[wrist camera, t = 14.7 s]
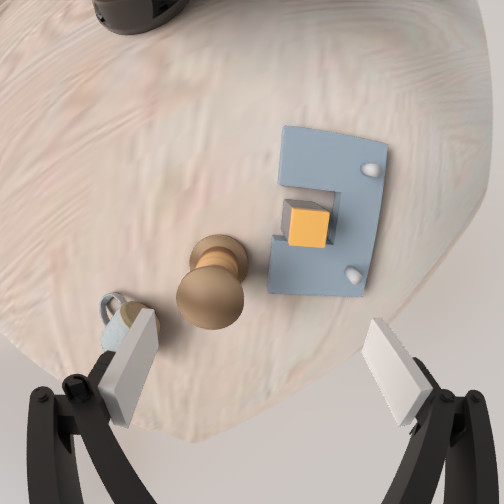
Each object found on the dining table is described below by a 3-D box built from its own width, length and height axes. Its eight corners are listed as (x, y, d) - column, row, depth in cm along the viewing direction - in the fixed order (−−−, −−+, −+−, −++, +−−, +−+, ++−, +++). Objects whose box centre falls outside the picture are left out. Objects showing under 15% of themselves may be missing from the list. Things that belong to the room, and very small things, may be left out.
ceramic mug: (169, 317, 42) (155, 346, 35) (146, 348, 44) (132, 376, 37) (115, 277, 40) (92, 299, 33) (96, 311, 42) (75, 335, 35)
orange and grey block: (283, 199, 37) (293, 209, 29) (312, 202, 37) (329, 212, 30) (280, 228, 38) (289, 245, 31) (309, 230, 38) (324, 248, 31)
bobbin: (191, 232, 38) (170, 261, 27) (249, 236, 38) (251, 268, 27) (190, 286, 40) (173, 329, 30) (245, 290, 41) (245, 336, 30)
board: (282, 127, 34) (289, 122, 29) (379, 144, 35) (398, 143, 29) (266, 285, 41) (269, 303, 35) (356, 289, 41) (369, 306, 36)
